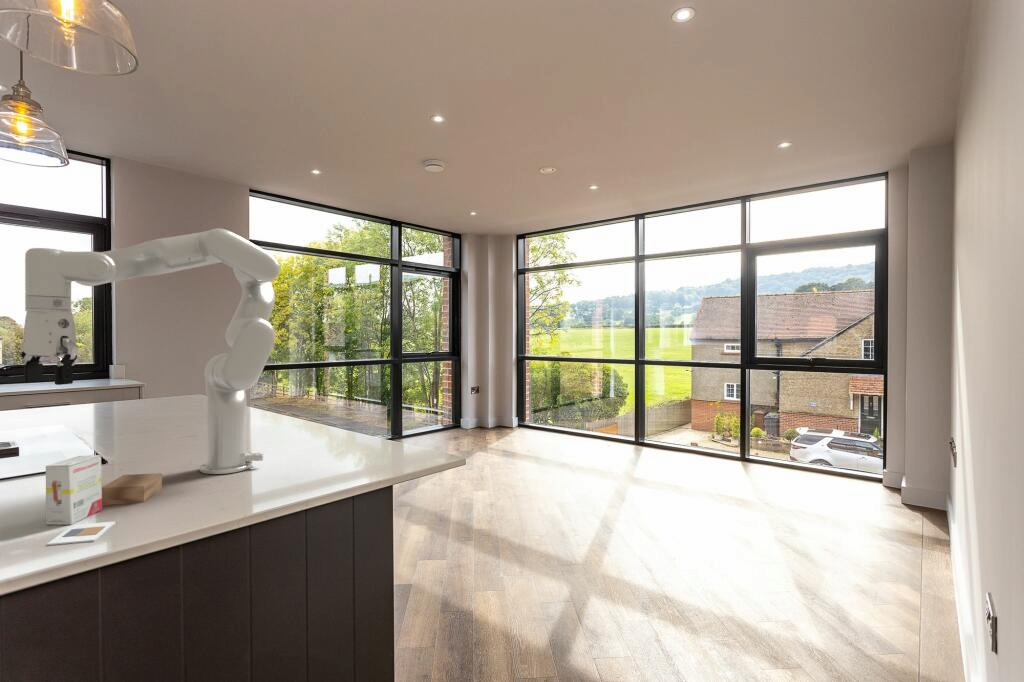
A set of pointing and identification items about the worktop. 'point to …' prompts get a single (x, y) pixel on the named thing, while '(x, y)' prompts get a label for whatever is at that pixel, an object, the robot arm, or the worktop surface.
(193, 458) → the worktop surface
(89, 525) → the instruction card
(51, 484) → the ink box
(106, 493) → the base block
